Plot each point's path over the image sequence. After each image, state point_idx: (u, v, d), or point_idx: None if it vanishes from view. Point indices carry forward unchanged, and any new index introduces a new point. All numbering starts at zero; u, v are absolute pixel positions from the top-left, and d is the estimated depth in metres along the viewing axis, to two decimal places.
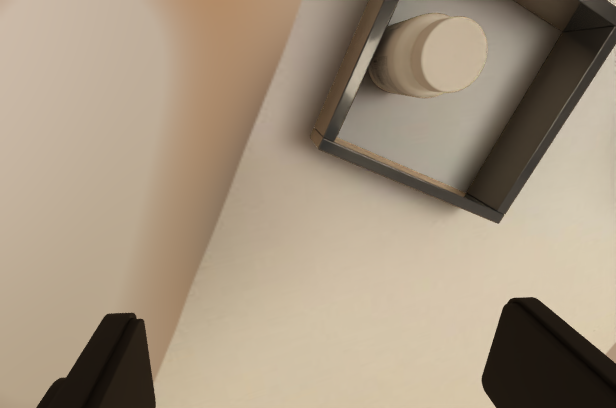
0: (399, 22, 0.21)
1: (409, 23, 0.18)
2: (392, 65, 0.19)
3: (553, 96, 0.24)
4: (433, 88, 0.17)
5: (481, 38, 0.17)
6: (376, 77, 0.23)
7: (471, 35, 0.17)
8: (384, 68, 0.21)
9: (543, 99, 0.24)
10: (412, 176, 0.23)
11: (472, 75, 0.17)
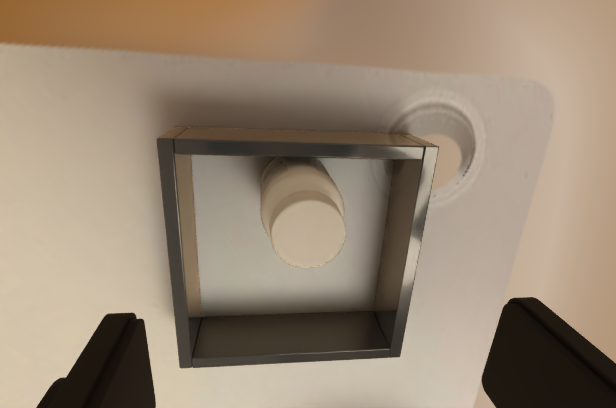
0: (324, 169, 0.20)
1: (323, 177, 0.17)
2: (279, 180, 0.17)
3: (320, 338, 0.24)
4: (270, 231, 0.15)
5: (333, 251, 0.16)
6: (267, 171, 0.21)
7: (332, 240, 0.16)
8: (275, 173, 0.19)
9: (315, 331, 0.25)
10: (181, 257, 0.19)
11: (299, 262, 0.16)
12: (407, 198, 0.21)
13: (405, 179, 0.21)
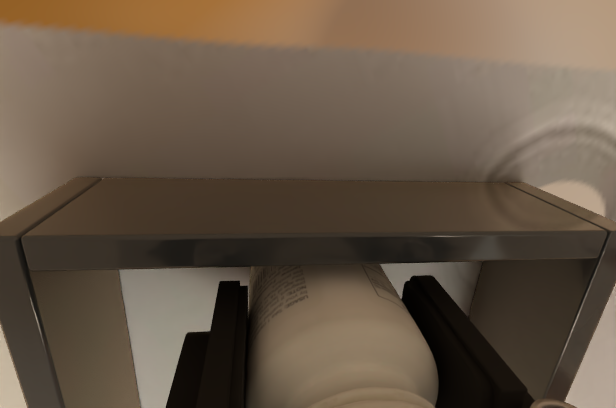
0: (377, 264, 0.10)
1: (397, 323, 0.07)
2: (290, 334, 0.07)
3: None
4: None
5: None
6: (262, 266, 0.10)
7: None
8: (279, 294, 0.08)
9: None
10: None
11: None
12: (534, 314, 0.11)
13: (528, 276, 0.11)
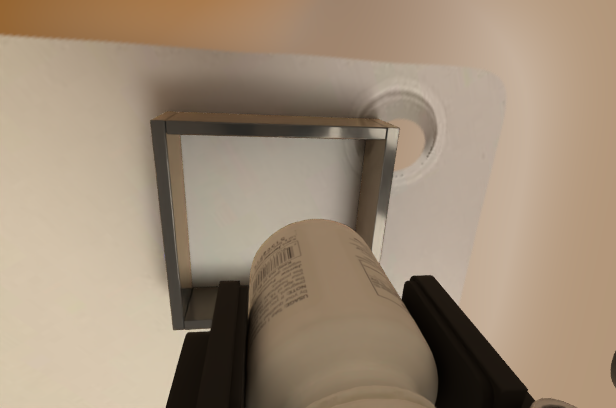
0: (376, 263, 0.10)
1: (396, 322, 0.07)
2: (290, 333, 0.07)
3: None
4: None
5: None
6: (262, 265, 0.10)
7: None
8: (279, 293, 0.08)
9: None
10: (173, 228, 0.22)
11: None
12: (374, 175, 0.24)
13: (373, 159, 0.24)
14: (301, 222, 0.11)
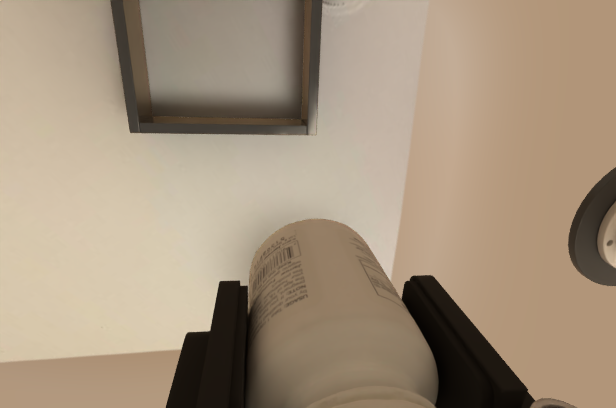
0: (376, 263, 0.10)
1: (397, 322, 0.07)
2: (289, 334, 0.07)
3: (250, 122, 0.29)
4: None
5: None
6: (261, 265, 0.10)
7: None
8: (279, 293, 0.08)
9: (247, 121, 0.30)
10: (123, 17, 0.24)
11: None
12: None
13: None
14: (301, 222, 0.11)
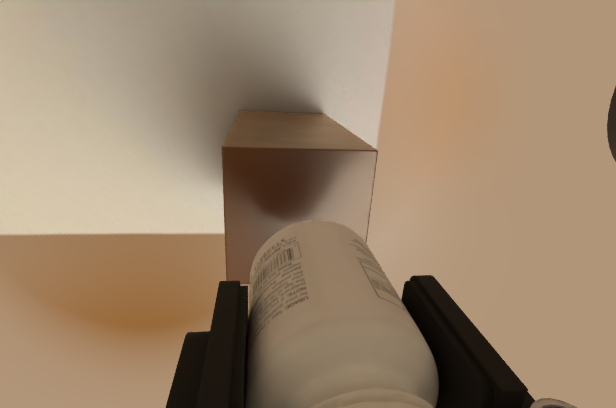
0: (377, 264, 0.10)
1: (397, 324, 0.07)
2: (290, 336, 0.07)
3: None
4: None
5: None
6: (262, 266, 0.10)
7: None
8: (279, 294, 0.08)
9: None
10: None
11: None
12: None
13: None
14: (301, 223, 0.11)
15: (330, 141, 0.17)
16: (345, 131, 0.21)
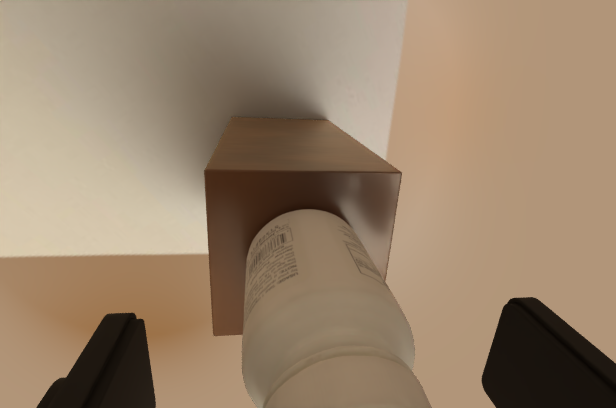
0: (362, 248, 0.11)
1: (376, 295, 0.08)
2: (281, 305, 0.08)
3: None
4: None
5: None
6: (257, 250, 0.11)
7: None
8: (272, 273, 0.09)
9: None
10: None
11: None
12: None
13: None
14: (294, 212, 0.12)
15: (341, 159, 0.14)
16: (356, 143, 0.17)
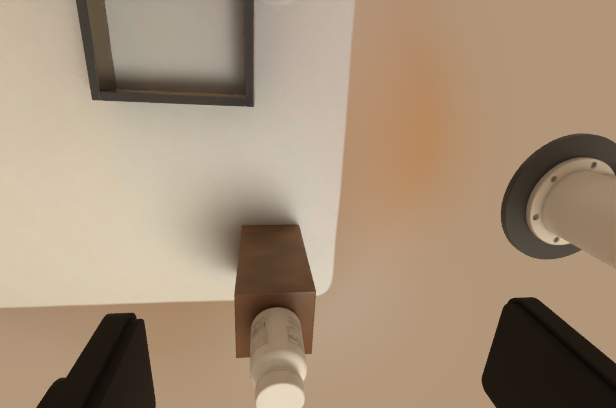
0: (295, 327, 0.29)
1: (292, 350, 0.26)
2: (262, 354, 0.26)
3: (198, 94, 0.34)
4: (255, 400, 0.24)
5: None
6: (255, 327, 0.29)
7: (296, 403, 0.24)
8: (260, 340, 0.27)
9: (196, 94, 0.34)
10: (85, 0, 0.29)
11: None
12: None
13: None
14: (270, 309, 0.30)
15: (292, 280, 0.32)
16: (305, 261, 0.35)
